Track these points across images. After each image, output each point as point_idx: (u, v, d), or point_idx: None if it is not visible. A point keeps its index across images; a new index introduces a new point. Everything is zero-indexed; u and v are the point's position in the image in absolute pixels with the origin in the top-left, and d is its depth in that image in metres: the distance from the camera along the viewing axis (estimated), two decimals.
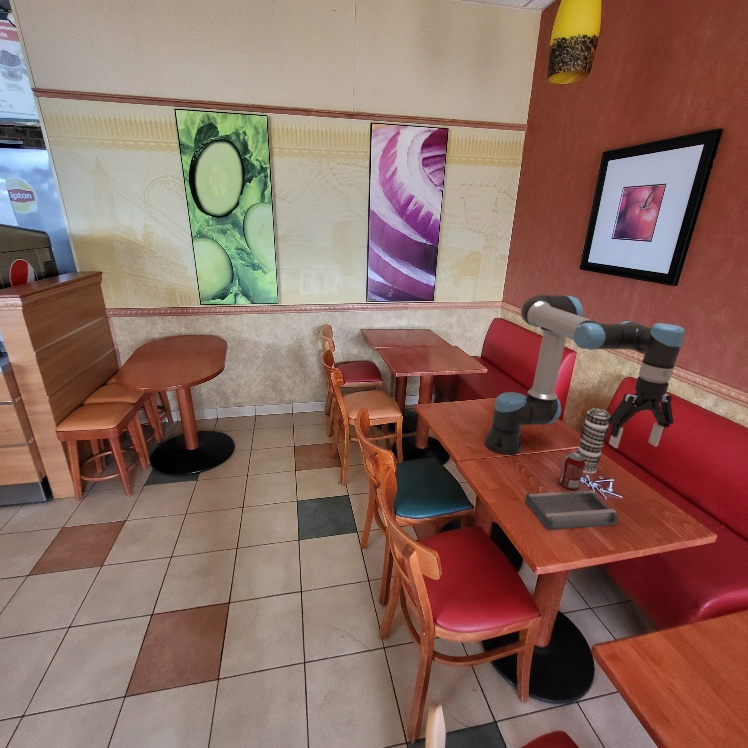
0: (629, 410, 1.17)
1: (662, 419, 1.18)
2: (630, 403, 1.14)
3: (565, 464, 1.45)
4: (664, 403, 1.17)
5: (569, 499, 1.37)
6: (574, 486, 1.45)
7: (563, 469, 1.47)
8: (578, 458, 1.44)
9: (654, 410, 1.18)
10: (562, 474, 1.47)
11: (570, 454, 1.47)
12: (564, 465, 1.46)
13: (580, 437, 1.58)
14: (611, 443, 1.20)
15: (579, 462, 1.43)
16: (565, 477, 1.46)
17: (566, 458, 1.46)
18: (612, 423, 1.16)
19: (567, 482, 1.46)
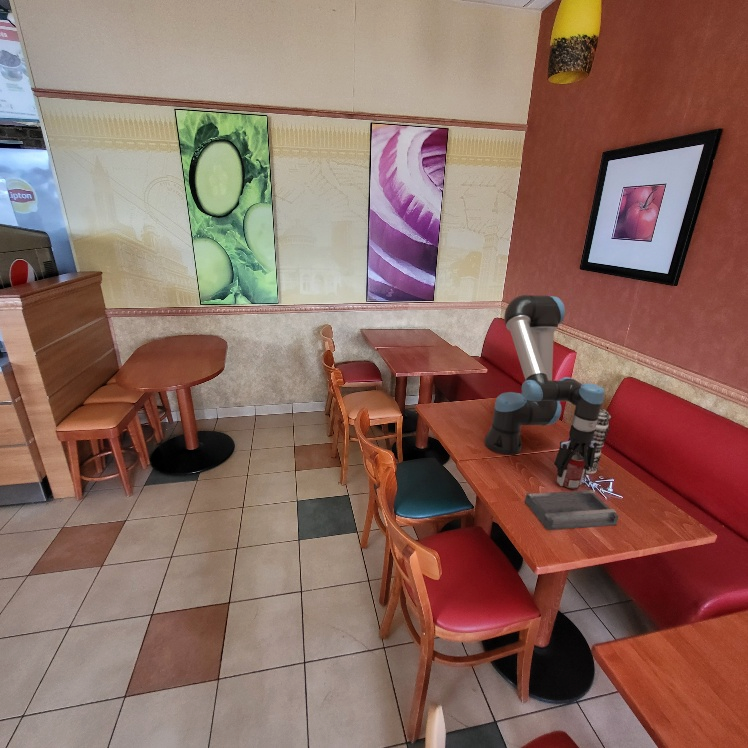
0: (567, 454, 1.44)
1: (585, 462, 1.45)
2: (565, 449, 1.42)
3: None
4: (591, 448, 1.45)
5: (569, 499, 1.37)
6: (574, 486, 1.45)
7: None
8: (578, 458, 1.44)
9: (582, 452, 1.45)
10: None
11: None
12: None
13: None
14: (558, 481, 1.48)
15: (579, 462, 1.43)
16: (565, 477, 1.46)
17: None
18: (557, 466, 1.44)
19: (567, 482, 1.46)
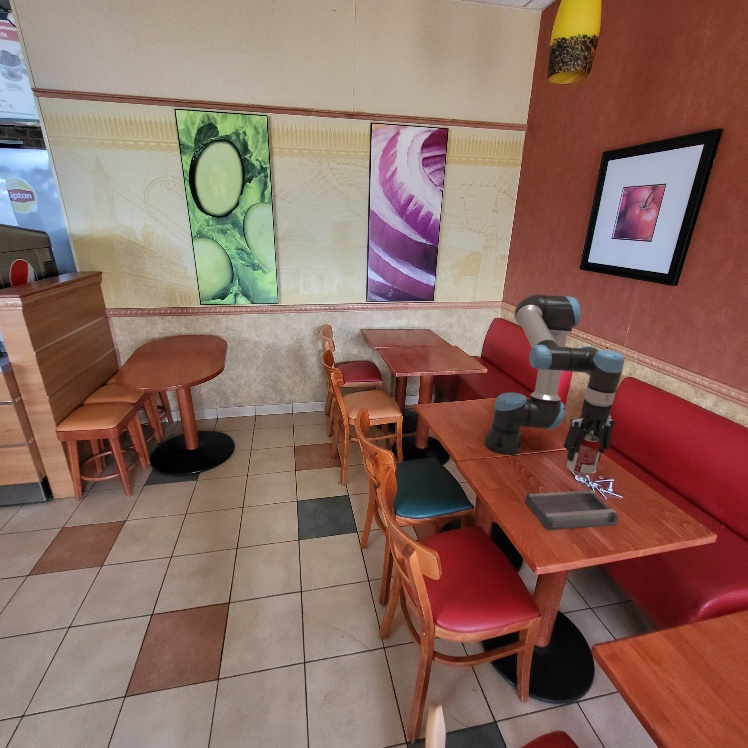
0: (579, 434, 1.23)
1: (600, 443, 1.24)
2: (577, 428, 1.21)
3: None
4: (606, 427, 1.24)
5: (569, 499, 1.37)
6: (587, 471, 1.24)
7: None
8: (592, 439, 1.23)
9: (596, 432, 1.24)
10: None
11: None
12: None
13: None
14: (568, 466, 1.27)
15: (593, 443, 1.22)
16: (576, 461, 1.25)
17: None
18: (567, 448, 1.23)
19: (579, 467, 1.25)
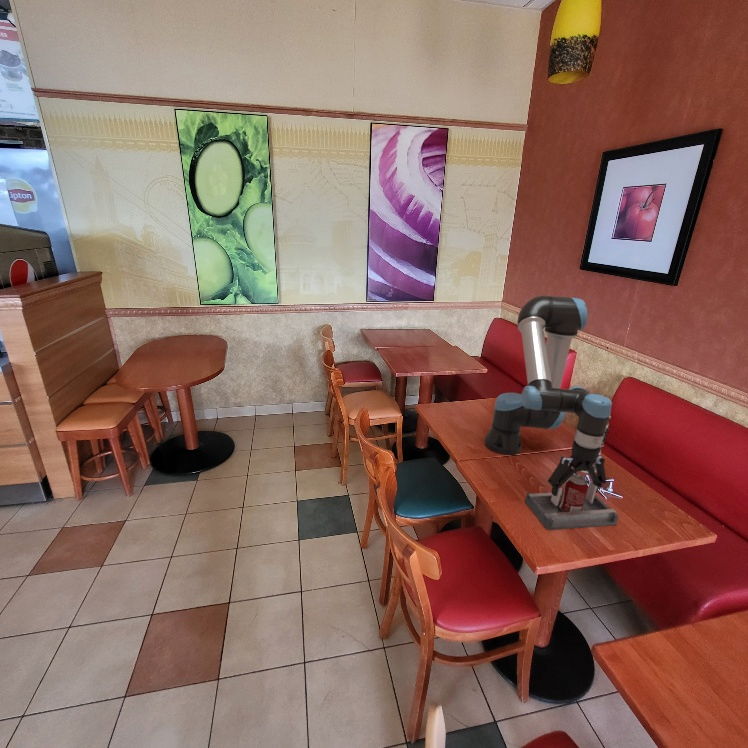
0: (566, 471, 1.27)
1: (596, 479, 1.29)
2: (566, 466, 1.25)
3: (566, 488, 1.29)
4: (598, 464, 1.28)
5: None
6: None
7: (563, 493, 1.31)
8: (580, 482, 1.28)
9: (588, 470, 1.28)
10: (562, 499, 1.31)
11: (571, 477, 1.31)
12: (565, 489, 1.30)
13: None
14: (552, 500, 1.31)
15: (582, 486, 1.27)
16: (565, 503, 1.30)
17: (567, 481, 1.30)
18: (551, 484, 1.27)
19: (567, 509, 1.30)
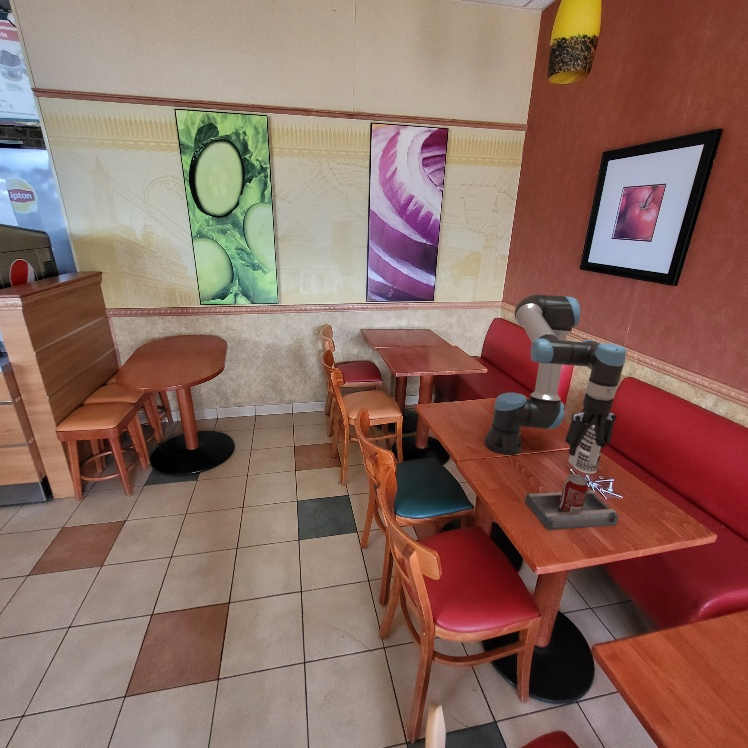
0: (581, 428, 1.22)
1: (601, 438, 1.23)
2: (578, 422, 1.20)
3: (566, 488, 1.29)
4: (608, 421, 1.23)
5: None
6: None
7: (563, 493, 1.31)
8: (580, 482, 1.28)
9: (597, 426, 1.23)
10: (562, 499, 1.31)
11: (571, 477, 1.31)
12: (565, 489, 1.30)
13: None
14: (570, 461, 1.27)
15: (581, 486, 1.27)
16: (565, 503, 1.30)
17: (567, 481, 1.30)
18: (569, 443, 1.22)
19: (567, 509, 1.30)
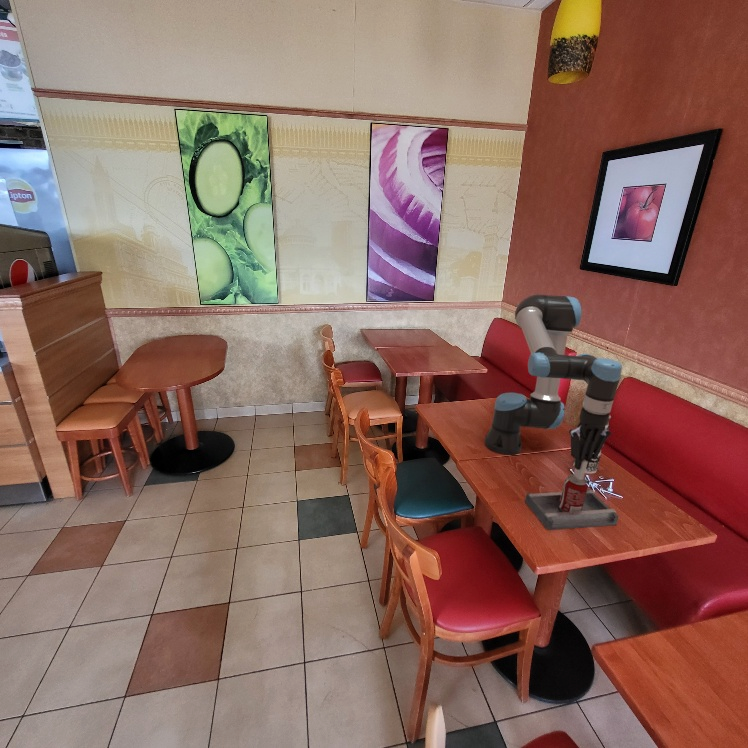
0: (581, 443, 1.24)
1: (590, 452, 1.25)
2: (577, 438, 1.22)
3: (566, 488, 1.29)
4: (601, 436, 1.24)
5: None
6: None
7: (563, 494, 1.31)
8: (580, 482, 1.28)
9: (590, 440, 1.24)
10: (562, 499, 1.31)
11: (571, 477, 1.31)
12: (564, 489, 1.30)
13: None
14: (575, 475, 1.29)
15: (581, 486, 1.27)
16: (565, 503, 1.30)
17: (567, 481, 1.30)
18: (575, 457, 1.25)
19: (567, 509, 1.30)
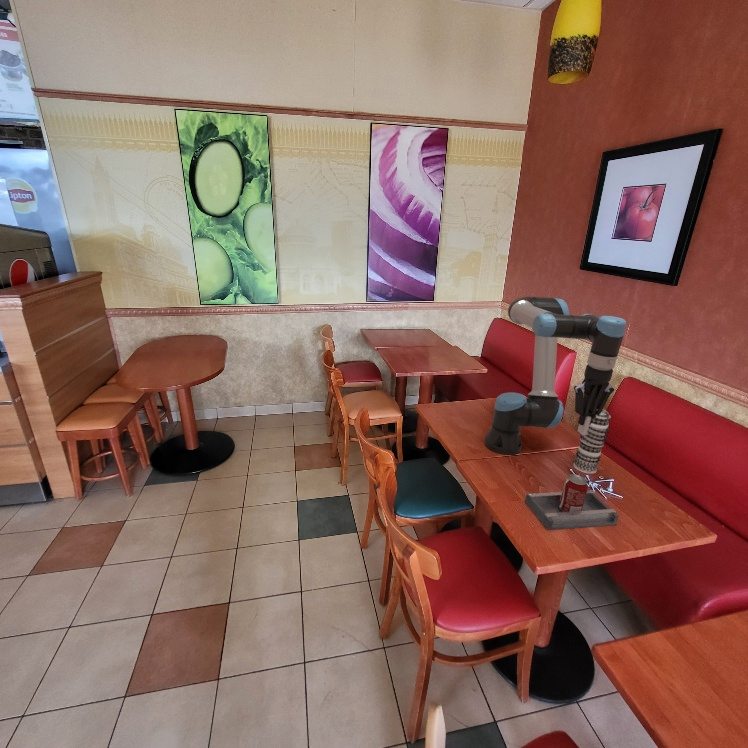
0: (585, 399, 1.29)
1: (594, 408, 1.29)
2: (581, 394, 1.27)
3: (566, 488, 1.29)
4: (605, 393, 1.29)
5: None
6: None
7: (563, 493, 1.31)
8: (580, 482, 1.28)
9: (594, 396, 1.29)
10: (562, 499, 1.31)
11: (571, 477, 1.31)
12: (564, 489, 1.30)
13: (580, 437, 1.58)
14: (579, 431, 1.34)
15: (581, 486, 1.27)
16: (565, 503, 1.30)
17: (567, 481, 1.30)
18: (579, 413, 1.30)
19: (567, 509, 1.30)
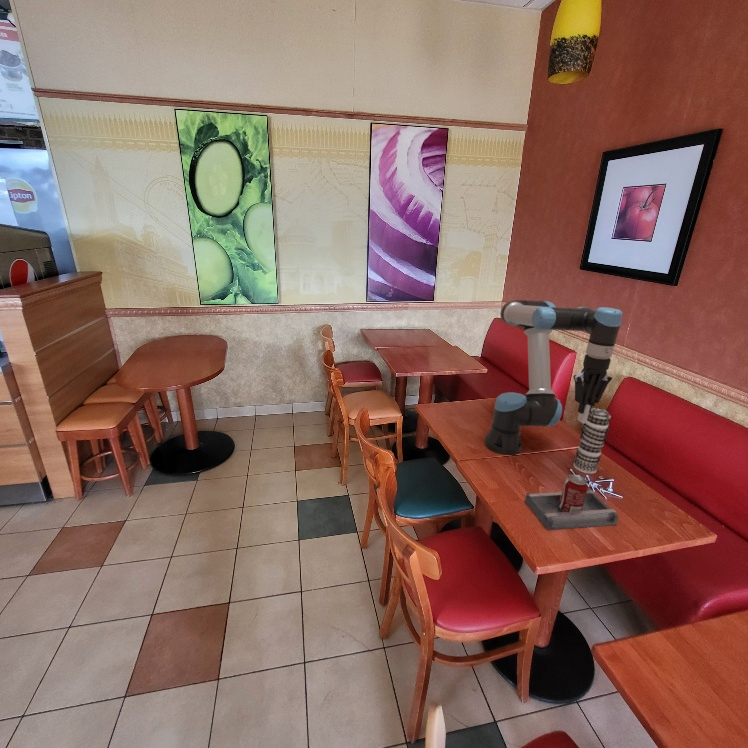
0: (585, 388, 1.34)
1: (593, 396, 1.35)
2: (581, 382, 1.32)
3: (566, 488, 1.29)
4: (603, 382, 1.34)
5: None
6: None
7: (563, 494, 1.31)
8: (580, 482, 1.28)
9: (593, 385, 1.34)
10: (562, 499, 1.31)
11: (571, 477, 1.31)
12: (564, 489, 1.30)
13: (580, 437, 1.58)
14: (579, 419, 1.39)
15: (581, 486, 1.27)
16: (565, 503, 1.30)
17: (567, 481, 1.30)
18: (579, 401, 1.35)
19: (567, 509, 1.30)
